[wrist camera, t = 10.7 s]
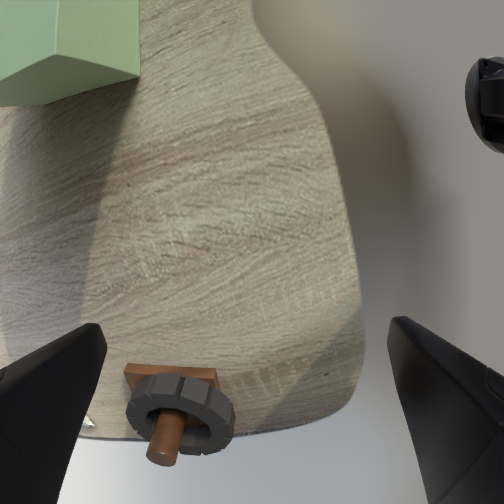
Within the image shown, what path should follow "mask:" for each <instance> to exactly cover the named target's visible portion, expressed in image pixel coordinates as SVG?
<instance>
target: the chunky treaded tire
mask: <svg viewBox="0 0 504 504" xmlns="http://www.w3.org/2000/svg"><path fill="white" fill-rule="evenodd" d="M209 384H210V383H207V382H205V381H202V380H199V379H197V378H194V377H191V376H189V375H186V377H185V379H184V381H183V378H182V376H181V374H178V373H158V375H157V376H156V375H155V374H152V375H150V376H148V377H146V378H144V379H142V380H140V381H139V383H137V384H136V386H135V389H134V391H133V393H132V395H131V398H130V400H129V402H128V406H127V410H126V414H127V419H128V420H129V422H130V424H131V426H132V427H133V429H134V430H138V431H137V433H138V434H139V435H141V436H142V437H143V438H145V439H146V440H148V441H149V442H150V440H151V437H152V434H153V431H154V428H155V425H156V422H157V419H158V416H159V413H158V412H157V411H156V409H157V408H174V409H179V410H182V411H185V412H187V413H190V414H193V415H195V416H197V417H198V418H199V419H201V420H202V421H203V422H204V423H206V425H203V426H200V427H188V426H185V428H184V432H183V435H182V439H181V443H180V447H179V452H180V453H181V454H185V455H198V456H200V455H201V453H202V454H204V455H208V454H212V453H216V452H219V451H221V449H225V448H226V446H227V445H228V444H229V443H230V442H231V440H232V437H233V431H234V423H235V413H234V409H233V405H232V403H229V401H230V399H229V398H227V397H226V396H225V395H224V394H223V393H222V392H221V391H219V390H218V389H217V388H216V387H215V386H213V387H211V388H209Z"/></svg>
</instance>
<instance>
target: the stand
mask: <svg viewBox="0 0 504 504" xmlns="http://www.w3.org/2000/svg"><path fill="white" fill-rule="evenodd" d="M158 373H178V374H181V376H182V378H183V381H184V379H185V377H186V375H189V376H191V377H194V378H197V379H199V380H202V381H205V382H207V383H210V384H209V388H211V387H213V386H215V387H216V388H217V389H218V390H219V391H220V389H219V384H218V379H217V373H216V369H215V368H191V367H171V366H156V365H143V364H132V363H128V364H127V366H126V368H125V370H124V374H125V377H126V379H127V382H128V384H129V386H130V389H131V391H132V393H133V391H134V389H135V386H136V384H137V383H139V381H140V380H142V379H144V378H146V377H148V376H150V375H152V374H155V375H156V376H157V375H158ZM156 411H157V412H158V413H159V416H158V419H157V422H156V425H155V428H154V431H153V434H152V437H151V440H150V443H149V446H148V450H147V453H146V457H147V458H148V459H149V460H150V461H151V462H153V463H155V464H158V465H161V466H167V467H170V466H173V465H175V463H176V459H177V455H178V451H179V447H180V443H181V439H182V435H183V432H184V428H185V426H188V427H200V426H203V425H206V423H204V422H203V421H202V420H201V419H199V418H198V417H197V416H195V415H193V414H190V413H187V412H185V411H182V410H179V409H174V408H157V409H156Z"/></svg>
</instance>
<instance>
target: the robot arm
mask: <svg viewBox="0 0 504 504" xmlns="http://www.w3.org/2000/svg"><path fill="white" fill-rule="evenodd" d="M483 62H484V63H485V66H484V65H483ZM478 69H479V80H480V96H481V125H482V138H483V140H484V141H487V142H493V143H498V144H504V64H502V63H499V62H496V61H493V60H490V59H487V58H480V59H479V60H478ZM487 133H488V135H489V136H488V137H487ZM387 346H388V352H389V356H390V361H391V365H392V370H393V375H394V380H395V384H396V389H397V392H398V396H399V399H400V401H401V405H402V408H403V411H404V415H405V417H406V421H407V424H408V427H409V431H410V434H411V438H412V442H413V445H414V449H415V452H416V455H417V459H418V463H419V467H420V471H421V475H422V479H423V483H424V487H425V491H426V496H427V500H428V504H504V376H502V375H500V374H499V373H497V372H496V371H494V370H493V369H491V368H489V367H488V368H487V366H486V365H485V364H483V363H481V362H480V361H478V360H476V359H475V358H473V357H472V356H470V355H469V354H467V353H465V352H464V351H462V350H460V349H459V348H457V347H456V346H454V345H452V344H451V343H449V342H447V341H446V340H444V339H442V338H441V337H439V336H438V335H436V334H434V333H433V332H431V331H429V330H428V329H426V328H424V327H423V326H421V325H420V324H417V323H416V322H414V321H413V320H411V319H410V318H408V317H406V316H400V317H393V318H392V320H391V323H390V328H389V334H388V340H387ZM106 353H107V343H106V340H105V337H104V335H103V332H102V329H101V327H100V325H99V324H97V323H86V324H84V325H82V326H81V327H79V328H77V329H75V330H73V331H71V332H69V333H67V334H65V335H64V336H62V337H60V338H58V339H56V340H54V341H52V342H50V343H49V344H47V345H45V346H43V347H41V348H39V349H37V350H36V351H34V352H32V353H30V354H28V355H26V356H24V357H23V358H21V359H19V360H17V361H15V362H13V363H11V364H10V365H8V366H6V367H4V368H2V369H0V504H57V501H58V498H59V494H60V493H59V492H60V490H61V487H62V483H63V480H64V477H65V474H66V471H67V467H68V464H69V461H70V458H71V455H72V452H73V449H74V446H75V443H76V441H77V438H78V435H79V432H80V429H81V427H82V424H83V421H84V418H85V416H86V413H87V410H88V408H89V405H90V403H91V400H92V397H93V395H94V392H95V389H96V386H97V383H98V380H99V376H100V373H101V369H102V366H103V363H104V359H105V356H106Z"/></svg>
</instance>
